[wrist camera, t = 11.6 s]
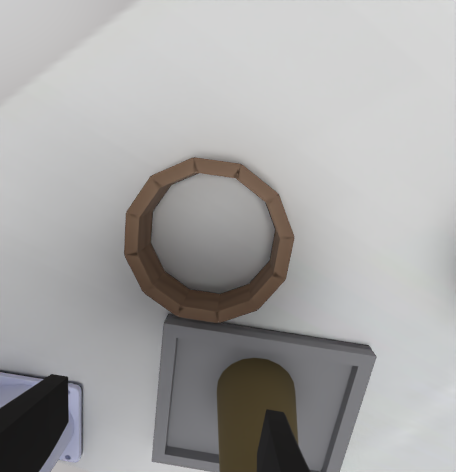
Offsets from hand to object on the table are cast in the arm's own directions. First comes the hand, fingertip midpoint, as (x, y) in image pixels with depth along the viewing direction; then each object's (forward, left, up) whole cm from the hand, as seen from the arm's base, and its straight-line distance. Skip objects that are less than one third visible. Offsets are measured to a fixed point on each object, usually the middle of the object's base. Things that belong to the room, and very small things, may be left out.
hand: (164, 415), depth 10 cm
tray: (+5, -9, -10) cm, 15 cm away
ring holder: (0, +4, -10) cm, 11 cm away
